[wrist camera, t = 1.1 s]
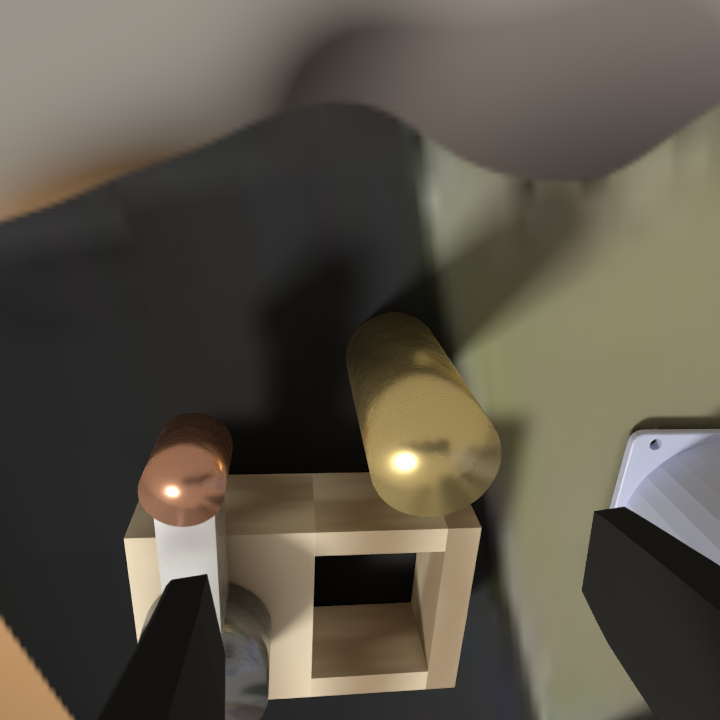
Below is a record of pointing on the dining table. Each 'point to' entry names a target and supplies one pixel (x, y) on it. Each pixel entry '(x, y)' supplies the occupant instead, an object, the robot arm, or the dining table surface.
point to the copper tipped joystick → (207, 548)
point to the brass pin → (418, 419)
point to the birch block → (296, 582)
